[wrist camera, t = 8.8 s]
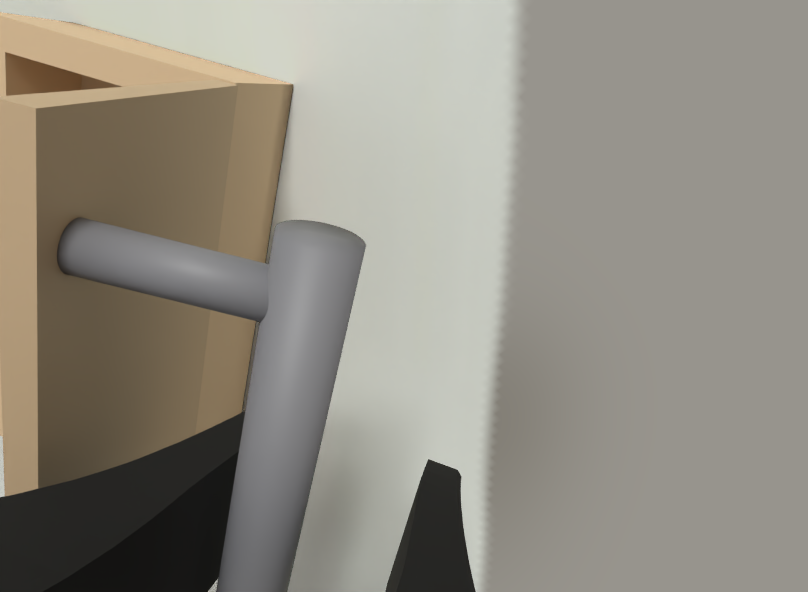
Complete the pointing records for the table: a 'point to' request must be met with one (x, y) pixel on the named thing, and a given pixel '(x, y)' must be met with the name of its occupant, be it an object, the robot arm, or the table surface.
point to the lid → (158, 305)
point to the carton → (247, 170)
